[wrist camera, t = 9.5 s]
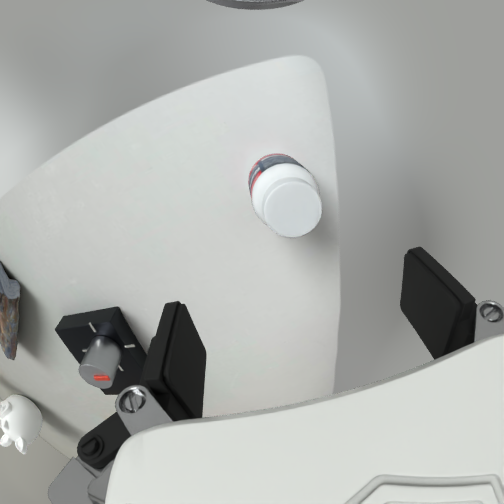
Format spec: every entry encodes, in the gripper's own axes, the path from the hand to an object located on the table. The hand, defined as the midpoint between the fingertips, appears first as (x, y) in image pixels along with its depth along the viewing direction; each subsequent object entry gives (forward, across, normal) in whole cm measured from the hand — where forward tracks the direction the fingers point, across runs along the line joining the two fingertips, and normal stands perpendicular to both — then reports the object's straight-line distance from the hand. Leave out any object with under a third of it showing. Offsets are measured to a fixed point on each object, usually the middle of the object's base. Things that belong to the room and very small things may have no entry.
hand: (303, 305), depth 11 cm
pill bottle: (+18, -1, -1) cm, 18 cm away
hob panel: (+18, +25, +17) cm, 35 cm away
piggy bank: (+18, +63, +32) cm, 73 cm away
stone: (+18, +42, +6) cm, 46 cm away
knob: (+15, +23, +14) cm, 30 cm away
